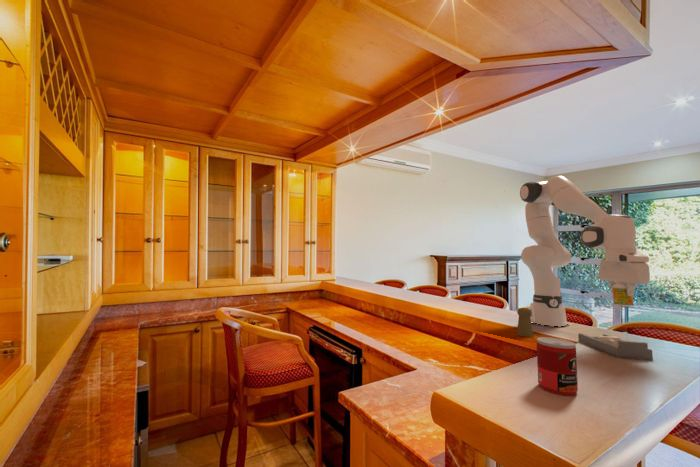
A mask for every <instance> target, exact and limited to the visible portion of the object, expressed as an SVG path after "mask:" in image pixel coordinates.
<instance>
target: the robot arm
mask: <svg viewBox="0 0 700 467" xmlns="http://www.w3.org/2000/svg"><path fill="white" fill-rule="evenodd" d="M519 196H520V198H521V200H522V201H523V202H525V203H526V204H525V208H524V210H525V222H526V226H527V232H528V236H529V237H530V239H532V240H533V241H534V242H535V243H536V244H535V245H530V246H529V245H528V246H526V247H524V248H523V249H522V251H521V254H520V257H521V258H520V259H521V261H522V262H523V264H524V265H525V266H527V268H528V270H529V271H530V272H531V275H532V279H533V286H534V287H533V288H534V289H533V290H534V293H533V295H532V296H533V297H532V303H531V304H530V305H529V306H528V307H527V309H530V310H531V312H532V314H531V316H530V319H531V322H533V323H537V324H536V325H538V324H542V325H541V326H544V325H549V326H548V327H554V326H558V327H557V328H562V327H561V326H565V325H566V324H568V323H569V322H568V320H567V313H566V308H565V307H564V306H563V296H562V293H561V280H560V278H559V277H558V276H556V275H555V274H554V271H553V269H552V268H561V267H565V266H567V265H569V264H570V263H571V261H572V253H571V252H570V251H569V249H567V248H566V247H565V246H564V245H563V244H562V243H561V242H560V239H559V238H558V236H557V234H556V232H555V230H554V226H553V222H552V217H551V214H550V206H553V207H554V206H555V207H556V208H557V209H558V210H560V211H561V212H562V213H565V214H570V215H575V216H580V217H584V218H586V219H587V220H590V221H591V222H592V223H594V224H592V225H588V226H586V227H585V228H584V229H583V230H582V231H581V235H580V239H581V240H580V241H581V242H582V244H583V246H585V247H586V248H589V249H593V250H604V257H603V258H602V260H601V261H600V263H599V266H598V278H599V279H598V280H600V281H604V282H605V281H606V282H608V285H609V287H610V289H611V293H612V294H613V285H615V284H616V283H615V279H618V281H619V282H623V283H627V286H628V288H627V291H625V295H626V296H633V297H634V296H635V290H636V288H637V285H648V284H649V282H650V279H651V278H650V275H651V274H650V267H649V266H650V265H649V264H648V263H649V262H650V258H649V256H648V255H645V254H642V253H641V252H639V251H637V246H636V244H635V241H636V237H637V235H636V234H637V233H636V226H635V222H634V219H633V217H632V216H630V215H628V214H610V213H609V212H608V211H607V210H605V209H604V208H603V207H602V206H600V205H599V204H598V203H596V202H595V201H594V200H593V199H591V198H589V197H588V196H587V195H586V194H584V193H583V192H582V191H581V190H580V189H579V188H578V187H577V186H576V184H574V183H573V182H572V181H571V180H570V179H568V178H567V177H565V176H563V175H556V176H553V177H551V178H549V179H548V180H542V181H541V180H540V181H527V182H525V183H524V184H523V185H522V186H521V188H520V190H519ZM565 327H566V326H565Z"/></svg>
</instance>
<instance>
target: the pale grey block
mask: <svg viewBox="0 0 700 467" xmlns="http://www.w3.org/2000/svg"><path fill="white" fill-rule="evenodd" d="M596 337H597V339H598V340H601V341H603V342H606V343H609V344H611V345H614V346H617V347H619V342H618V341H620V339H621V338H620V337H619V336H612V337H608V336H603V335H597V336H596Z"/></svg>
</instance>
